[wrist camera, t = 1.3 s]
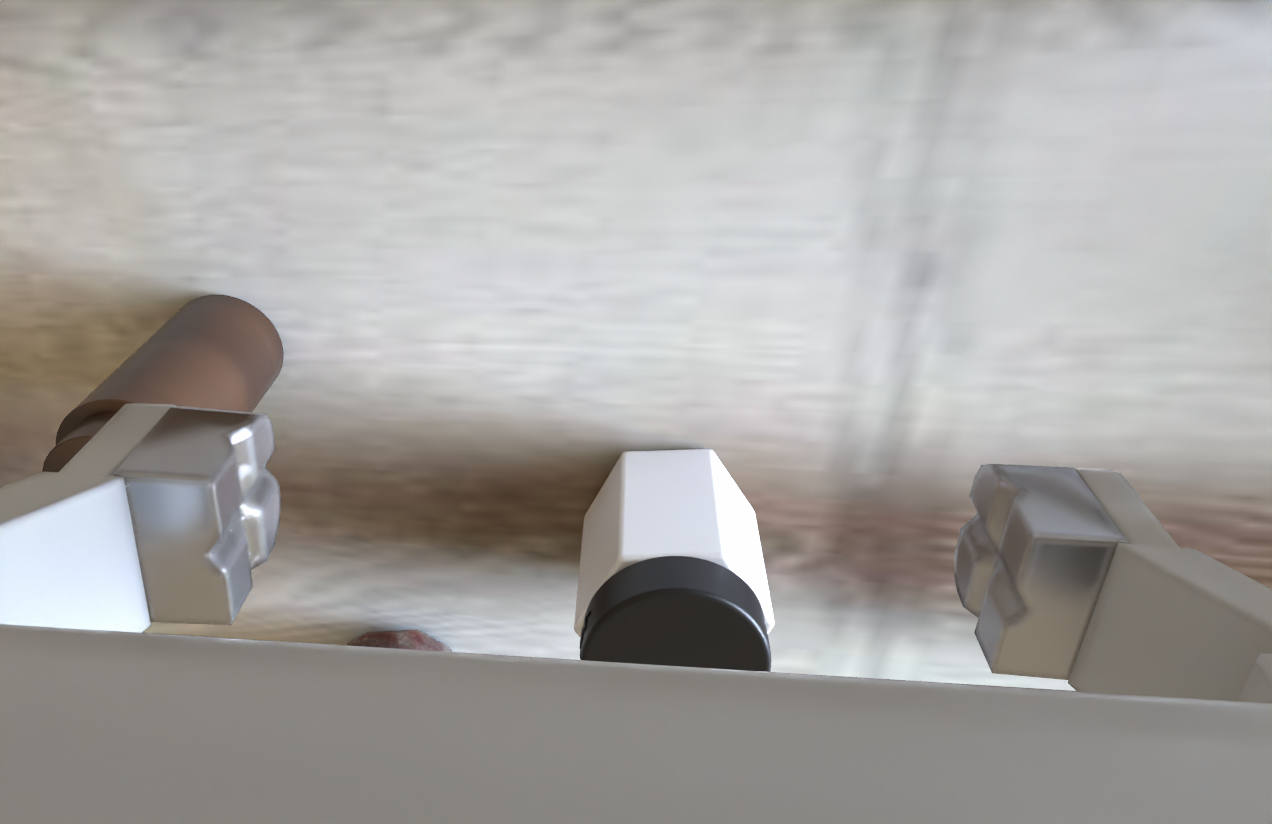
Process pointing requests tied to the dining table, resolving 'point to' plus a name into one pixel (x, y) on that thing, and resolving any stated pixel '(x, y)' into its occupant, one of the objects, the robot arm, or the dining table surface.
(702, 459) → the jar
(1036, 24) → the dining table surface
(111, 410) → the pepper mill
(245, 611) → the dining table surface
